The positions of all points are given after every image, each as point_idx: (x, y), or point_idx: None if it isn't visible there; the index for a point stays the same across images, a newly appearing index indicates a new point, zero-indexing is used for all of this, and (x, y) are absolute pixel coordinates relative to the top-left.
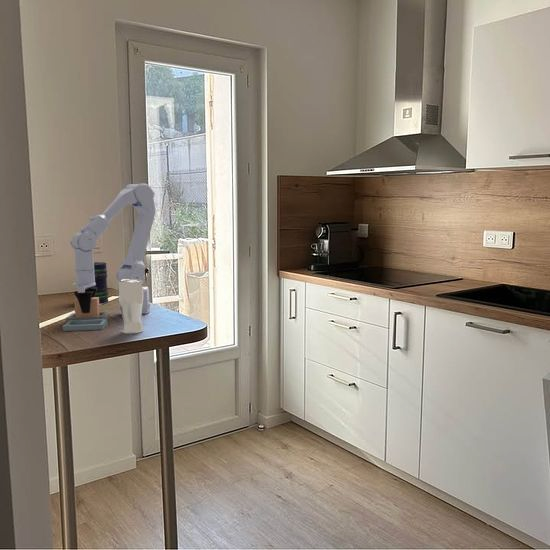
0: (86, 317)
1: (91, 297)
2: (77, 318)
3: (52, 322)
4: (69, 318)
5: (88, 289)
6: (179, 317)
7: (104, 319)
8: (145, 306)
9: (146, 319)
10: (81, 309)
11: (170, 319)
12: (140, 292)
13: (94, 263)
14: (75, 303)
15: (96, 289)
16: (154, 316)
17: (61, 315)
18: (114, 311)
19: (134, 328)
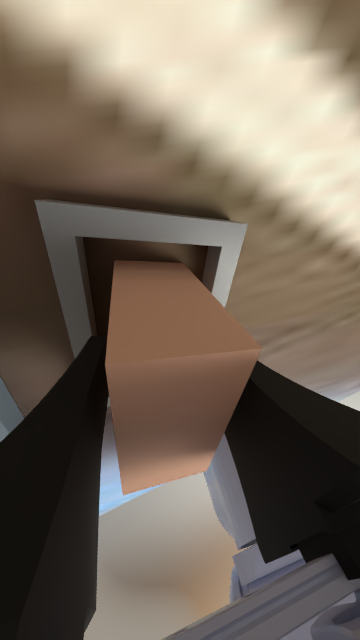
0: (72, 346)
1: (212, 446)
2: (60, 293)
3: (60, 6)
4: (43, 232)
5: (296, 530)
6: (125, 496)
7: (2, 435)
8: None
9: (110, 467)
10: (80, 353)
11: (102, 496)
12: None
13: None
14: (110, 337)
15: (259, 546)
16: None
17: (355, 110)
18: (277, 368)
19: None
